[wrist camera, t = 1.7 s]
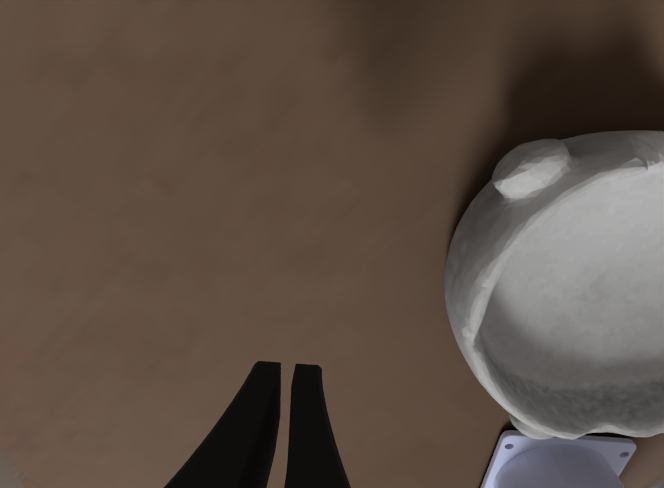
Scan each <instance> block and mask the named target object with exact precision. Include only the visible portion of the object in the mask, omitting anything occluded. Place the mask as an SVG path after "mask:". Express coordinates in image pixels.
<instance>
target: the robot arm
mask: <svg viewBox="0 0 664 488" xmlns="http://www.w3.org/2000/svg"><path fill="white" fill-rule="evenodd" d="M280 396H281V363H279V362H265V361H258V362H257V363H255V364H254V366H253V368H252V370H251V372H250V374H249V375H248V377H247V379H246V380H245V382H244V384H243V385H242V387H241V389H240V390H239V392H238V393H237V395H236V396H235V398H234V399H233V401H232V402H231V404H230V405H229V407H228V408H227V409H226V411H225V412H224V414H223V415H222V416H221V418H220V419H219V421H218V422H217V423H216V425H215V426H214V428H213V429H212V430H211V432H210V433H209V434H208V435H207V437H206V438H205V439H204V440H203V442H202V443H201V444H200V446H199V447H198V448H197V449H196V451H195V452H194V453H193V454H192V456H191V457H190V458H189V459H188V461H187V462H186V463H185V464H184V465H183V466H182V468H181V469H180V470H179V471H178V472H177V474H176V475H175V476H174V477H173V478H172V479H171V480H170V481H169V483H168V484H167V485H166V486H165V487H164V488H266V487H267V483H268V478H269V474H270V470H271V466H272V462H273V458H274V454H275V448H276V441H277V434H278V427H279V420H280ZM635 450H636V445H635V443H634V442H633V441H632V440H631V439H628V438H615V437H601V436H587V435H583V436H581V437H579V438H577V439H574V440H571V439H564V438H559V437H556V436H554V437H552V438H550V439H543V440H540V439H534V438H531V437H528V436H526V435H524V434H523V433H521V432H520V431H516V430H507V431H505V432H503V433H502V434H501V436H500V439H499V441H498V444H497V447H496V449H495V452H494V454H493V457H492V459H491V462H490V464H489V467H488V470H487V472H486V475H485V477H484V480H483V482H482V485H481V487H480V488H625V487H624V486H623V484H622V483H621V481H620V479H619V478H618V476H619V475H620V473H621V472H622V470H623V469H624V467H625V466H626V464H627V462H628V461H629V459H630V458H631V456H632V455H633V453H634V451H635ZM284 488H351V487H350V484H349V482H348V479H347V476H346V473H345V470H344V467H343V464H342V461H341V458H340V456H339V452H338V449H337V446H336V443H335V439H334V436H333V432H332V428H331V424H330V421H329V417H328V413H327V408H326V403H325V398H324V392H323V385H322V369H321V368H320V367H319V366H318V365H307V364H296V366H295V371H294V375H293V380H292V386H291V406H290V426H289V447H288V462H287V473H286V480H285V487H284Z"/></svg>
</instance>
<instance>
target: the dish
mask: <svg viewBox="0 0 664 488" xmlns="http://www.w3.org/2000/svg"><path fill="white" fill-rule="evenodd" d="M444 289H445V300H446V307H447V313H448V317H449V320H450V324H451V327H452V330H453V333H454V335H455V338H456V341H457V343H458V346H459V348H460V350H461V352H462V354H463V356H464V358H465V360H466V361H467V363H468V365H469V366H470V368H471V370H472V371H473V373H474V375H475V376H476V378H477V379H478V380H479V382H480V383H481V384H482V385H483V387H484V388H485V389H486V390H487V391H488V392H489V394H490V395H491V396H492V397H493V398H494V399H495V400H496V401H497V402H498V403H499V404H500V405H501V406H502V407H503V408H504V409H506V410H507V411H508V415H509V417H510V419H511V422H512V424H513V425H514V426H515V427H516V428H517V429H518V430H519V431H520V432H521V433H523V434H524V435H526V436H528V437H531V438H534V439H540V440H543V439H550V438H552V437H554V436H556V437H559V438H564V439H571V440H574V439H577V438H579V437H581V436H583V435H585V434H587V433H597V432H598V433H603V432H611V433H617V434H622V435H627V436H632V437H651V436H654V435H656V434H660V433H664V131H650V130H629V131H607V132H599V133H591V134H583V135H579V136H575V137H571V138H566V139H562V140H557V139H541V140H537V141H532V142H528V143H523V144H521V145H519V146H517V147H515V148H514V149H512V150H511V151H510V152H508V153H507V154H506V155H505V156H504V157H503V158H502V159H501V160H500V161H499V163H498V164H497V166H496V168H495V170H494V172H493V175H492V179H491V180H490V181H489V182H488V183H487V185H486V186H485V187H484V188H483V189H482V190H481V191H480V192H479V193H478V195H477V196H476V197H475V198H474V199H473V201H472V202H471V203H470V205H469V207H468V208H467V210H466V212H465V213H464V215H463V217H462V218H461V220H460V222H459V224H458V226H457V228H456V230H455V233H454V235H453V238H452V240H451V243H450V247H449V252H448V256H447V260H446V267H445V276H444Z"/></svg>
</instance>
